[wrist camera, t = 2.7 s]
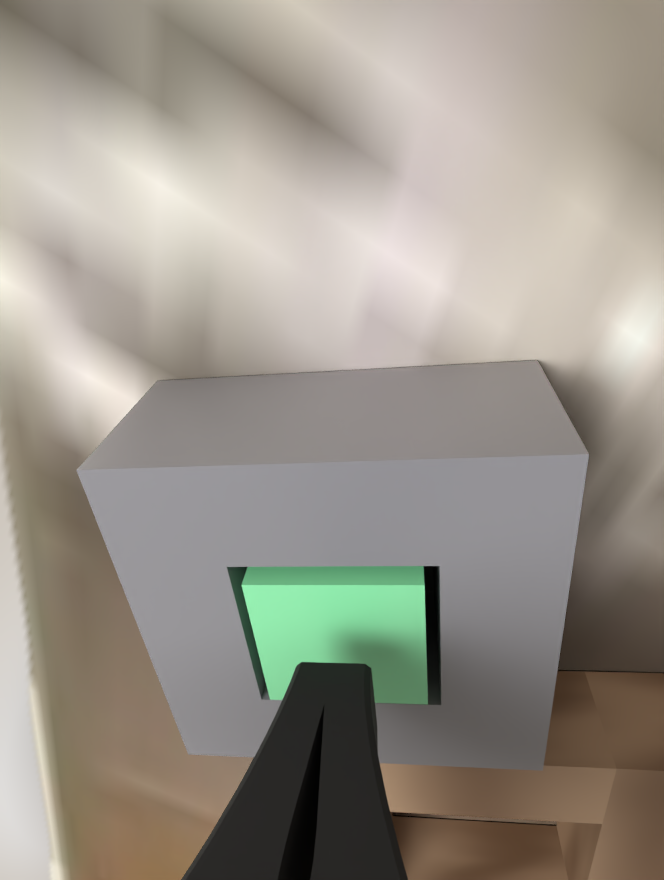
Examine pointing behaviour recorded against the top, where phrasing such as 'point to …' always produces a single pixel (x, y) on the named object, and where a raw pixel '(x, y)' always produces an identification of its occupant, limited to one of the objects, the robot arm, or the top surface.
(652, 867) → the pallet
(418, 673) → the button
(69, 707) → the top surface
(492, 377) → the button housing
